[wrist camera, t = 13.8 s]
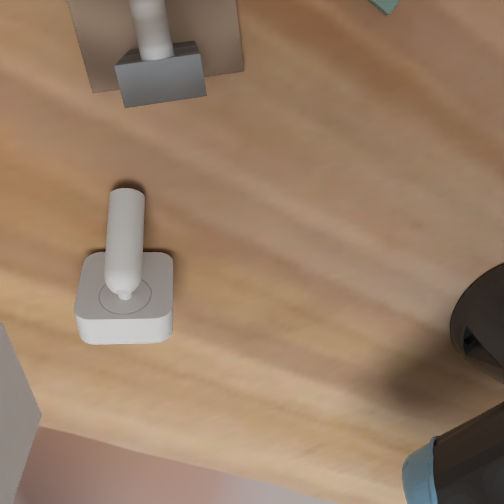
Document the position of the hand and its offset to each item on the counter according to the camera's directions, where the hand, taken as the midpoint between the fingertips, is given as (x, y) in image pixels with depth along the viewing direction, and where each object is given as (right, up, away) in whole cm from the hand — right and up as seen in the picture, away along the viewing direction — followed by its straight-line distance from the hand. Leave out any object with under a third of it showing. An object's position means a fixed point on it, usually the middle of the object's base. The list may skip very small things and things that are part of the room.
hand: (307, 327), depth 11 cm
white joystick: (-13, +3, +34) cm, 36 cm away
